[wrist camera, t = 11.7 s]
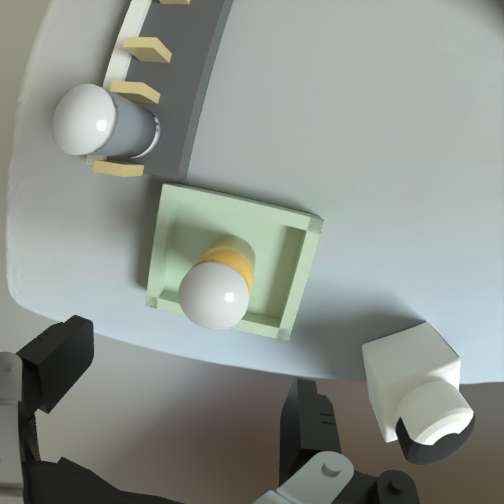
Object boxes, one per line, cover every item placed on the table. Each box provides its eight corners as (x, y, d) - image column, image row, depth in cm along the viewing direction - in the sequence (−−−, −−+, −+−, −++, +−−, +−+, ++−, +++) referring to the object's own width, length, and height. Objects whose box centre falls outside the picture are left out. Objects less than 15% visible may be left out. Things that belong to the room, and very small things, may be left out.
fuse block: (252, -54, 19) (248, -92, 13) (185, 181, 25) (160, 184, 19) (174, -56, 19) (157, -89, 13) (101, 165, 25) (62, 166, 19)
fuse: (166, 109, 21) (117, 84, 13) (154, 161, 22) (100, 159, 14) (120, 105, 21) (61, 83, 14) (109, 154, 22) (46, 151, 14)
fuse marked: (261, 242, 25) (255, 273, 17) (249, 289, 26) (239, 337, 18) (211, 230, 25) (184, 256, 17) (202, 277, 26) (174, 320, 18)
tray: (318, 215, 25) (323, 220, 22) (287, 327, 27) (288, 341, 25) (173, 182, 25) (163, 183, 23) (155, 294, 28) (145, 305, 25)
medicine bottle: (429, 375, 28) (477, 451, 16) (368, 397, 29) (398, 485, 17) (428, 319, 27) (491, 392, 15) (360, 343, 27) (399, 433, 16)
